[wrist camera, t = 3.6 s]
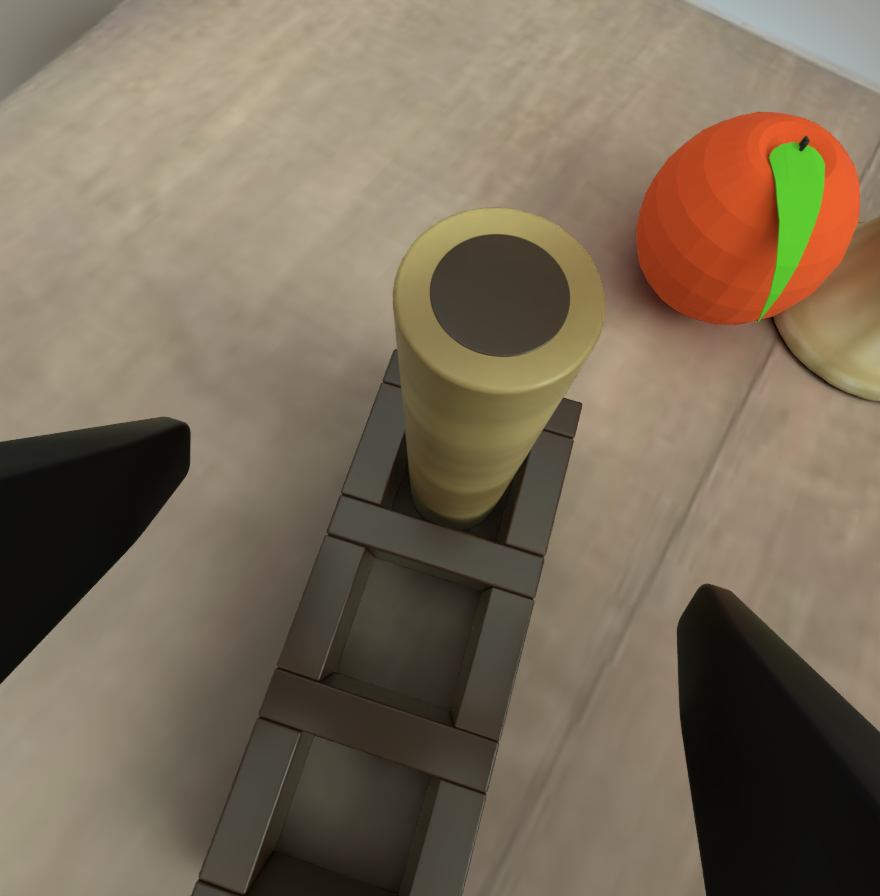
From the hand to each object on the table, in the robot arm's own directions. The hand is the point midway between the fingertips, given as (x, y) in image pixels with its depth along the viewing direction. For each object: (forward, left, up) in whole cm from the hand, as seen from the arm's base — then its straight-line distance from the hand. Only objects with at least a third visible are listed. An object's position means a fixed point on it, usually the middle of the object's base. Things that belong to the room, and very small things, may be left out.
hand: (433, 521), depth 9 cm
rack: (-1, +1, -10) cm, 10 cm away
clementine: (+5, -15, -10) cm, 19 cm away
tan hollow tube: (+2, -2, -10) cm, 11 cm away
